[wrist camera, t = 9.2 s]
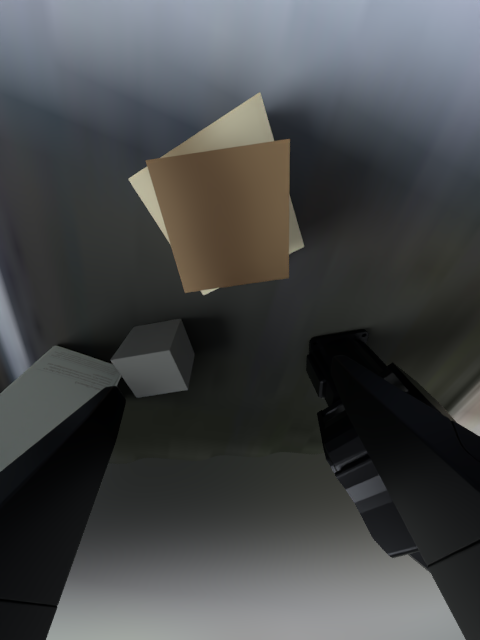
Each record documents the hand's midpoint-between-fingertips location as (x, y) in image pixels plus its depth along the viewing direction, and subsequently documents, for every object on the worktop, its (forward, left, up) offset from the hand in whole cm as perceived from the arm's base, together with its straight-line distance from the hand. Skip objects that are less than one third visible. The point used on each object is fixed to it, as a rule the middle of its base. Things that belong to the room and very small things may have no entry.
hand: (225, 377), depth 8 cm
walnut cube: (-1, -5, -8) cm, 10 cm away
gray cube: (+8, +6, -12) cm, 15 cm away
